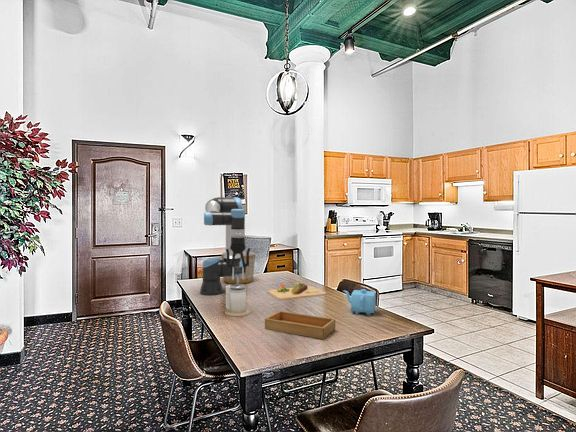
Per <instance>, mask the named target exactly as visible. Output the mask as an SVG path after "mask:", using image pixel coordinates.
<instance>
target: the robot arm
mask: <svg viewBox="0 0 576 432" xmlns="http://www.w3.org/2000/svg"><path fill="white" fill-rule="evenodd" d="M242 202H243V201H242V199H241V198H240V197H235V196H234V197H219V196H218V197H214V198H211V199H209V200H208V201H207V202H206V203H205V206H204V209H205V212H204V213H203V224H204V225H205V226H211V227H212V226H225V252H226V255H225V256H224V257H223V260H222V259H221V257H210V258H206V259H204V260H203V261H202V283H201V285H200V289H199V294H200V295H204V296H216V295H221V294H223V293H224V289H223V285H222V282H221V278H223V277H232V279H233V280H234V277H235V276H237V274H234V267H242V266H243V267H242V279H244V273H245V272H246V266H249V252H251V251H250V250H251V248H250V247H246V243H245V241H246V238H245V236H246V234H245V233H246V232H245V231H246V229H245V228H246V227H245V226H246V224H245V221H246V214H245V213H246V211H245V209H244V206H243V203H242ZM243 252H246V264H245V261H244V257H243ZM238 254H240V255H241V257H240V256H239V255H238ZM240 275H241V274H239V276H240Z"/></svg>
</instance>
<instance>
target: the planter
mask: <svg viewBox="0 0 576 432" xmlns="http://www.w3.org/2000/svg"><path fill="white" fill-rule="evenodd" d="M225 255H226V251H225V252H222V253H221V255H220V256H221V260H223V257H224V256H225ZM238 255H239V256H240V257H241V255H240V254H238ZM243 257H244V261H245V264H246V251H243ZM255 259H256V253H255V252H252V251H249V266H246V272H245V273H244V279H242V273H241V275H240V276H239V284H244V285H246V284H249V283H250V284H251V282H253V280H254V273H255V272H254V271H255V261H256V260H255ZM242 267H243V266H242ZM222 279H223V281H224V282H225V283H226V284H228V285H233V284H237V276H235V277H234V280H233V279H232V277H222Z"/></svg>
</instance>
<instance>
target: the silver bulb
mask: <svg viewBox="0 0 576 432" xmlns="http://www.w3.org/2000/svg"><path fill="white" fill-rule="evenodd" d="M241 273H242V267H234V274H237V284H229V285H230V288H233V289H241V288H246V284H239V274H241Z"/></svg>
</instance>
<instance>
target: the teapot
mask: <svg viewBox="0 0 576 432" xmlns="http://www.w3.org/2000/svg"><path fill="white" fill-rule="evenodd" d="M343 292H344V293H345V294H346V298H347V301H348V302H349V304H350V311H351V312H354V314H355V315H359V314H360V313H365V315H367V316H372V314H375V311H376V301H377V299H376V296H377V293H376V291H372V290H371V291H369V290H367V289H365V288H363V289H362V288H361V289H360V290H359V289H354V290H353V291H352V292H351V294H350V292H349V291H347V290H343Z"/></svg>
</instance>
